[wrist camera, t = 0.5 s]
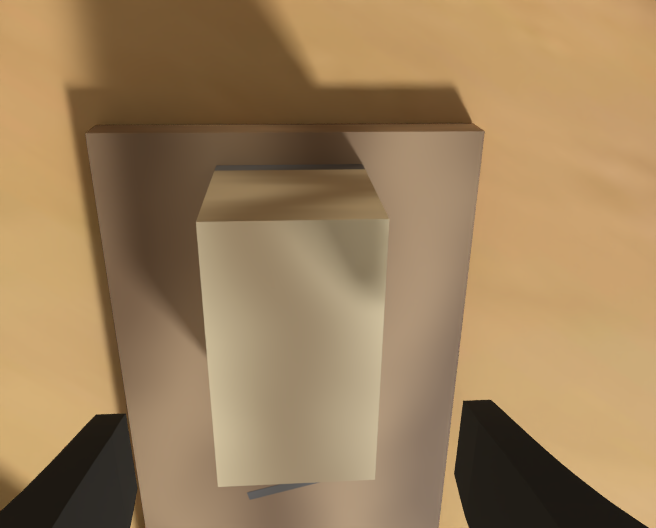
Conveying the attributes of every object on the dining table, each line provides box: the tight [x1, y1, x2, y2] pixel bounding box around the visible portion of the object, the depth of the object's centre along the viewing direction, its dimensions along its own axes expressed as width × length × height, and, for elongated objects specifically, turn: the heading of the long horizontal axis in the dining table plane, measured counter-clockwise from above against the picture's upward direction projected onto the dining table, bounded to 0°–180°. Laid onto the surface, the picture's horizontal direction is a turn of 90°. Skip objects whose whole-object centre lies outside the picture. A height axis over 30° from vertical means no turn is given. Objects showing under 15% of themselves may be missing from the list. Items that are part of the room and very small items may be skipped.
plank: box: [85, 124, 485, 528], centre depth 23 cm, size 12×22×1 cm, turn 179°
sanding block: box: [196, 164, 389, 487], centre depth 18 cm, size 4×8×5 cm, turn 179°
